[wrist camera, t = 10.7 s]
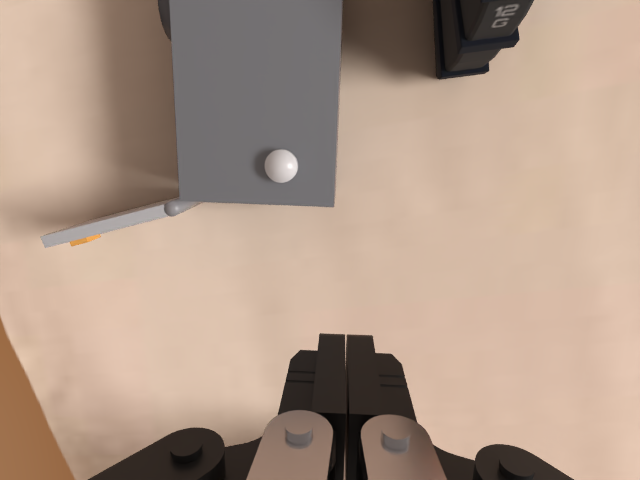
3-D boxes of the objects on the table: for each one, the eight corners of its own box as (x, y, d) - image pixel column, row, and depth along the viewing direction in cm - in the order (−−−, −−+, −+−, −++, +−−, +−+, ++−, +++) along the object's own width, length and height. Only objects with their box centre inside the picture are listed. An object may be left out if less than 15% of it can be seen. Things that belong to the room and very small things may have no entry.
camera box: (335, 193, 39) (333, 208, 31) (194, 187, 40) (154, 201, 31) (344, -19, 35) (345, -69, 26) (185, -22, 36) (136, -72, 27)
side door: (204, 189, 40) (175, 200, 33) (209, 206, 40) (182, 220, 33) (89, 219, 41) (39, 235, 34) (96, 235, 41) (48, 254, 35)
